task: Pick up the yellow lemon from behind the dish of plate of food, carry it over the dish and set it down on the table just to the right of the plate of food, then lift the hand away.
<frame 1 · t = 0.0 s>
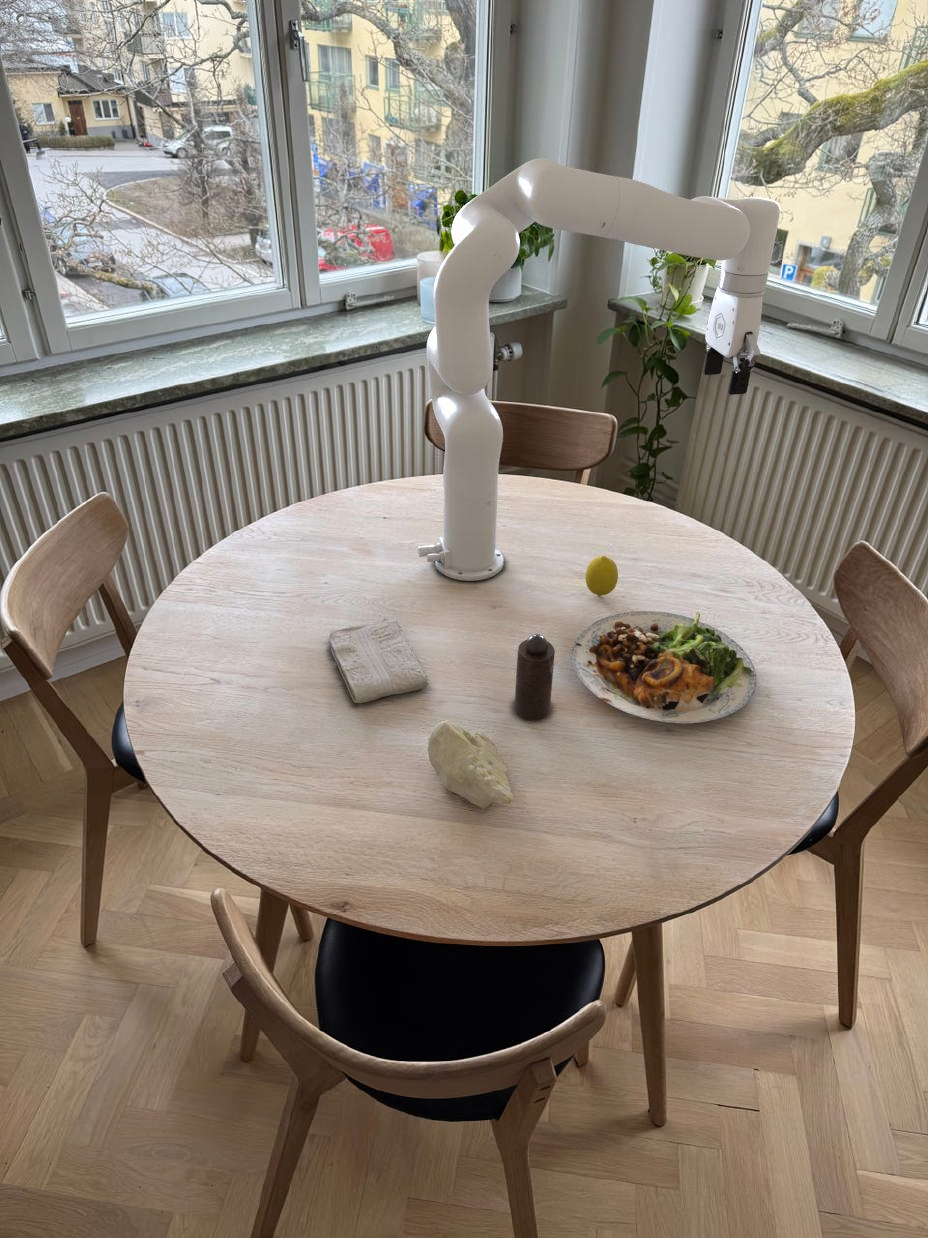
hand: (724, 383, 157), 31 cm above the table, tool pointing down, fingers open, 9 cm apart
plate of food: (661, 675, 140), on the table
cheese: (483, 794, 119), on the table
pepper mill: (532, 709, 132), on the table
lemon: (599, 596, 158), on the table
washcloth: (376, 666, 141), on the table
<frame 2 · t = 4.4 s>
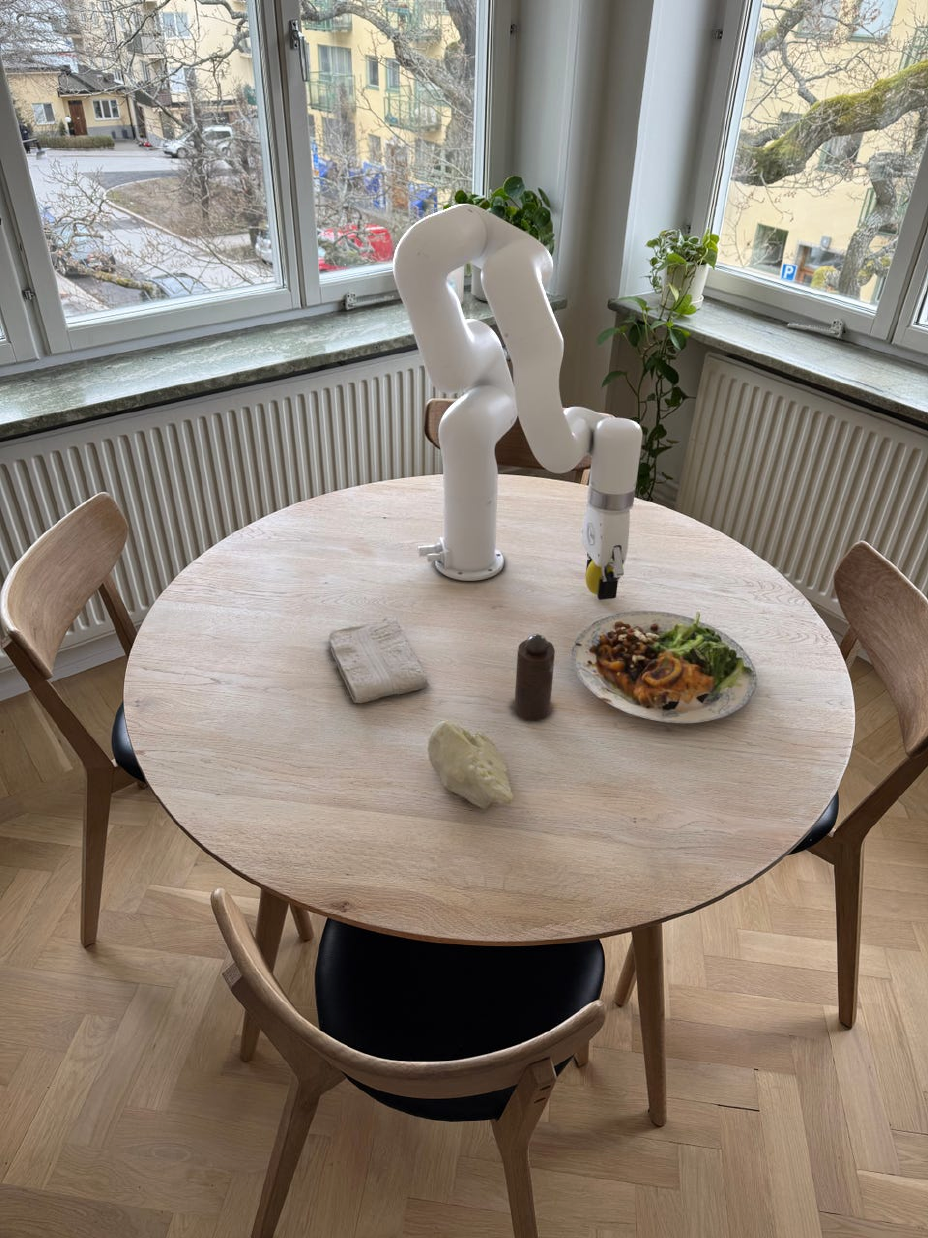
hand: (600, 587, 157), 2 cm above the table, tool pointing down, fingers closed on lemon, 5 cm apart
lemon: (599, 596, 158), on the table, touching gripper
everything else where it was.
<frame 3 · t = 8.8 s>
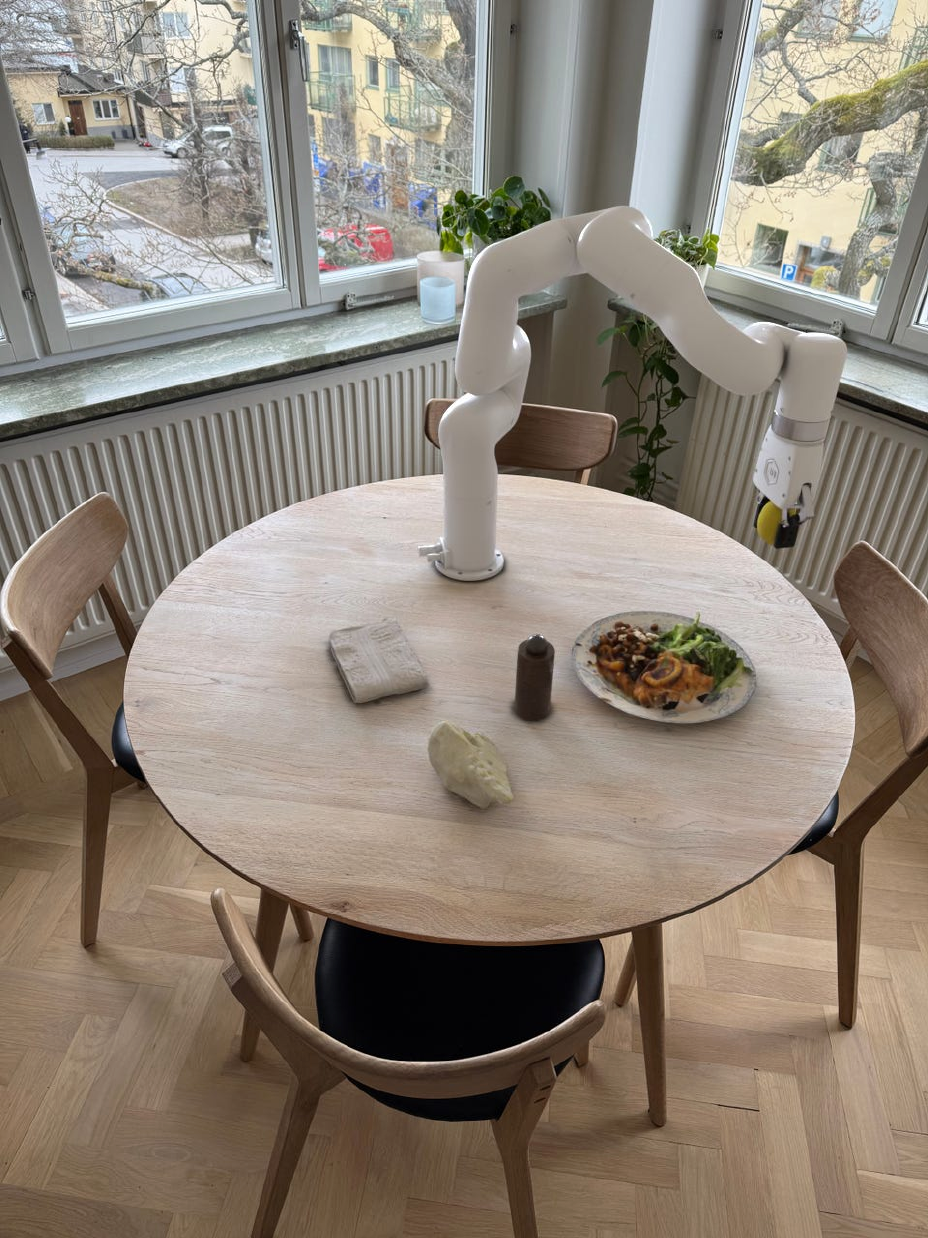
hand: (773, 535, 137), 19 cm above the table, tool pointing down, fingers closed on lemon, 5 cm apart
lemon: (770, 546, 139), point 17 cm above the table, touching gripper
everything else where it was.
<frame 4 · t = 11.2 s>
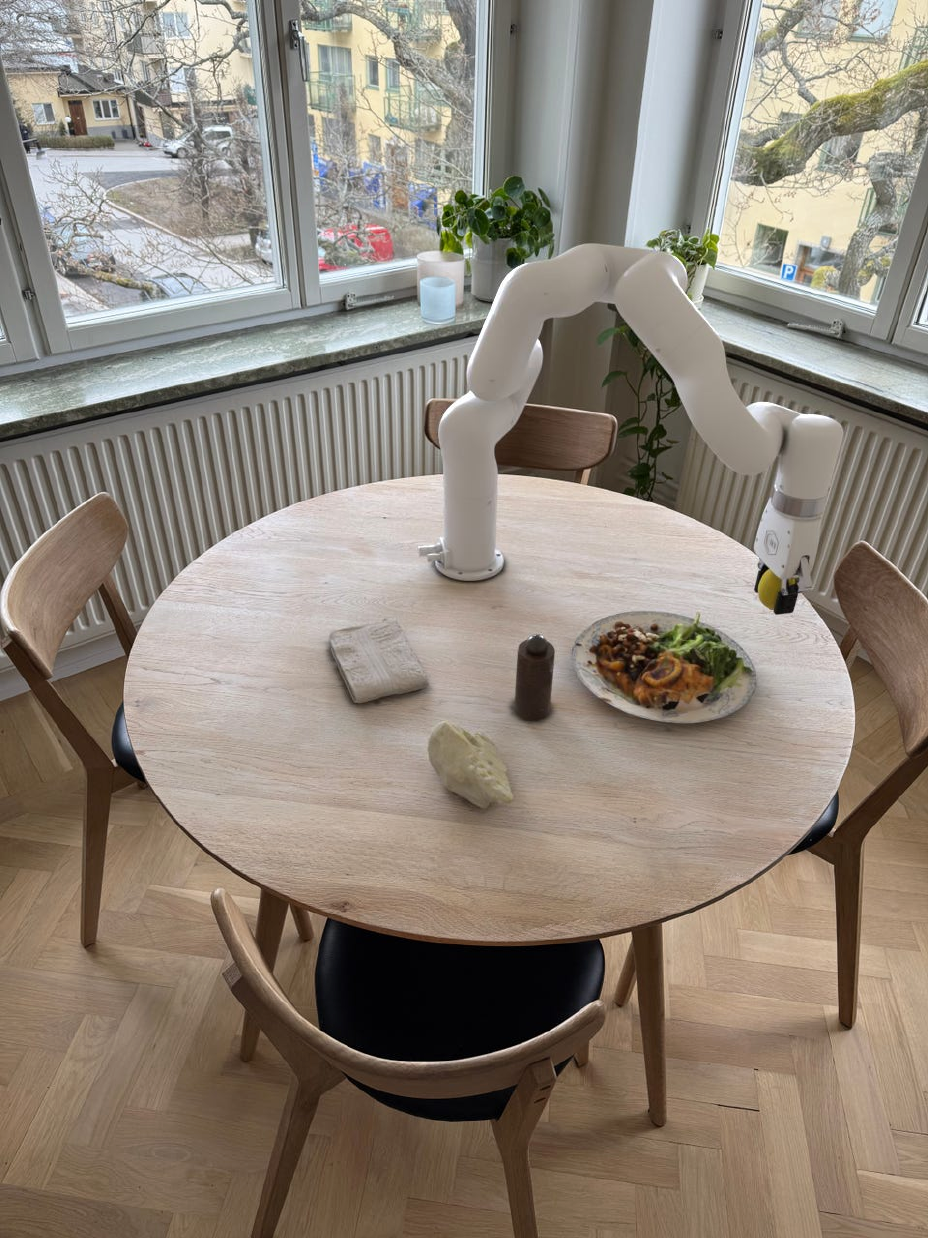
hand: (773, 600, 143), 8 cm above the table, tool pointing down, fingers closed on lemon, 5 cm apart
lemon: (770, 610, 144), point 6 cm above the table, touching gripper
everything else where it was.
when the fingers open (2 cm above the table, at t = 13.1 s): lemon stays where it is, on the table.
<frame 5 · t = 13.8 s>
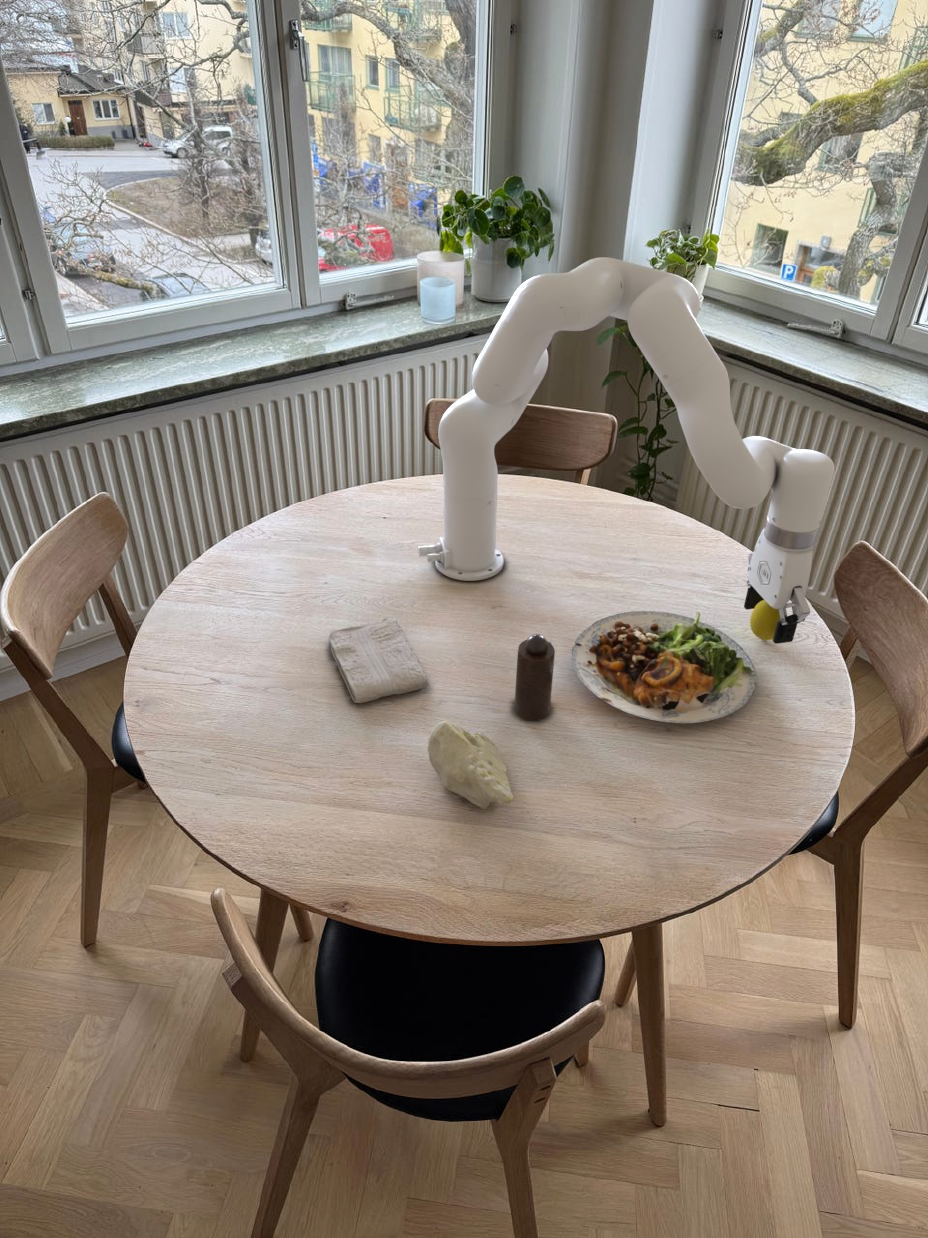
hand: (767, 624, 146), 3 cm above the table, tool pointing down, fingers open, 9 cm apart
lemon: (763, 641, 148), on the table
everything else where it was.
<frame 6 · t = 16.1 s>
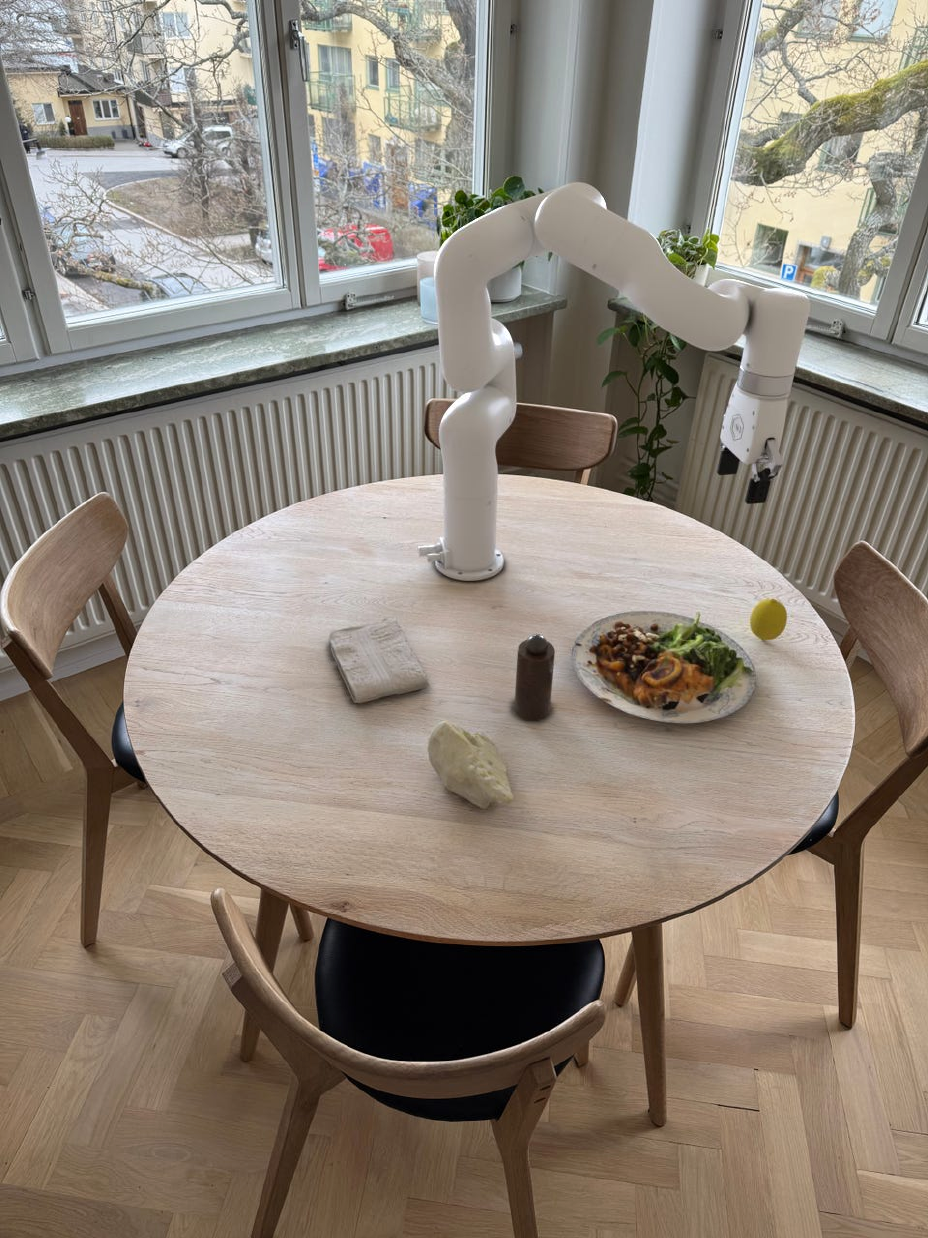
hand: (740, 487, 139), 24 cm above the table, tool pointing down, fingers open, 9 cm apart
nothing on the table moved.
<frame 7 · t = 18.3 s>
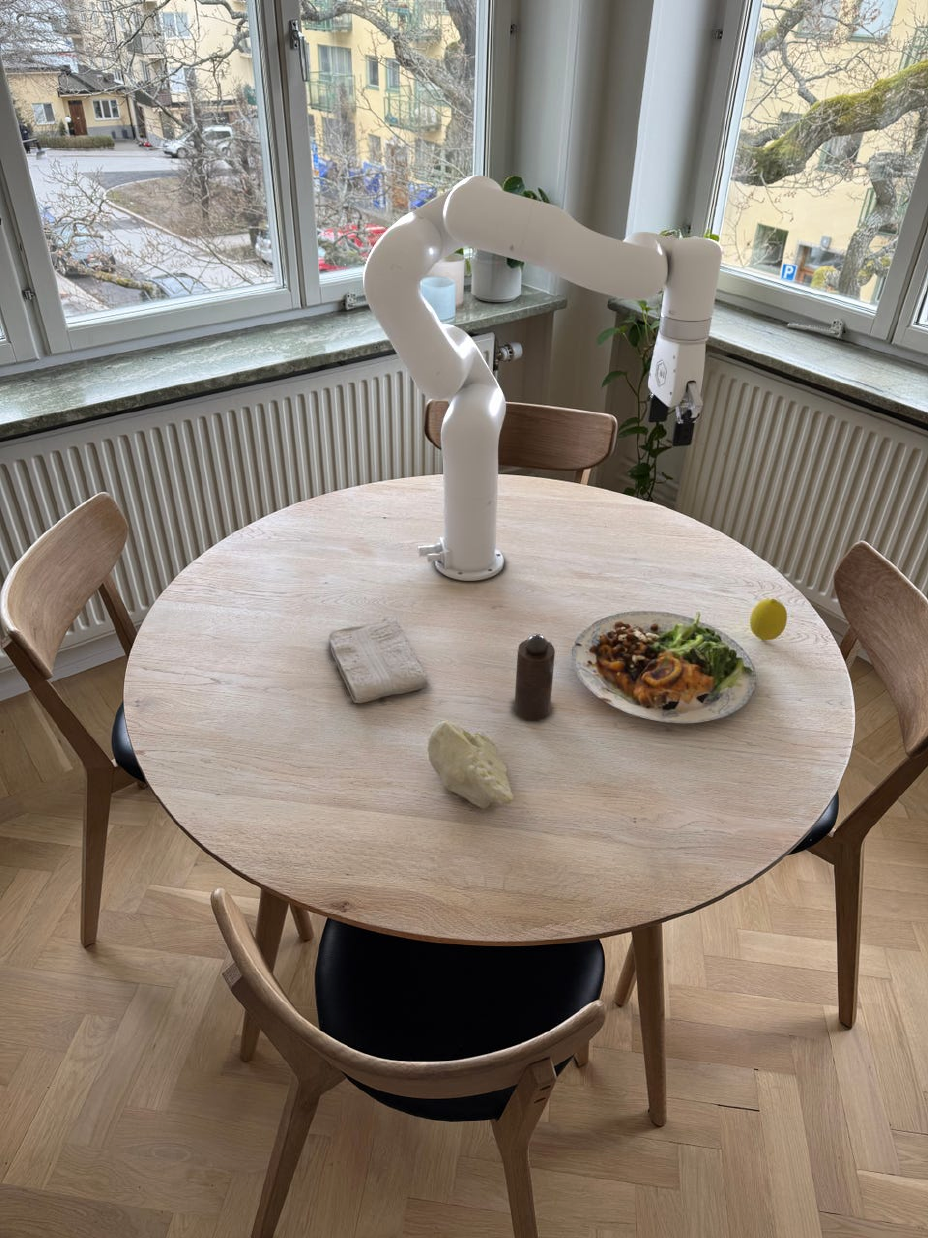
hand: (668, 432, 146), 28 cm above the table, tool pointing down, fingers open, 9 cm apart
nothing on the table moved.
at the end: lemon inside the target area on the table beside the plate of food (5.2 cm from its centre), on the table; the gripper is holding nothing; plate of food moved 0.2 cm from its start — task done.
